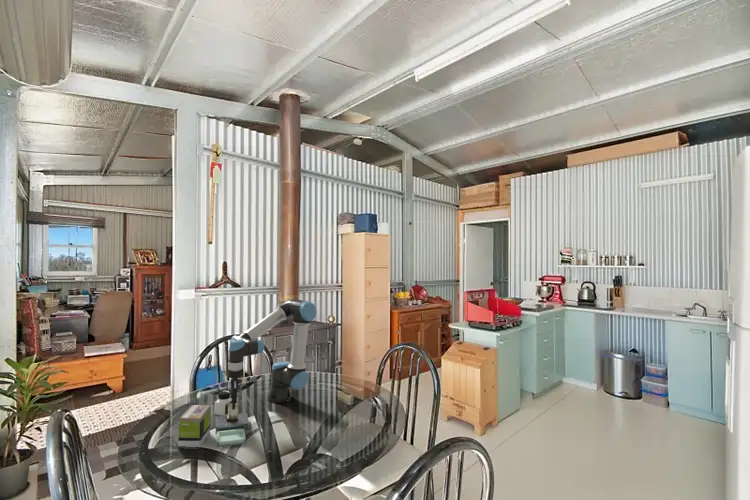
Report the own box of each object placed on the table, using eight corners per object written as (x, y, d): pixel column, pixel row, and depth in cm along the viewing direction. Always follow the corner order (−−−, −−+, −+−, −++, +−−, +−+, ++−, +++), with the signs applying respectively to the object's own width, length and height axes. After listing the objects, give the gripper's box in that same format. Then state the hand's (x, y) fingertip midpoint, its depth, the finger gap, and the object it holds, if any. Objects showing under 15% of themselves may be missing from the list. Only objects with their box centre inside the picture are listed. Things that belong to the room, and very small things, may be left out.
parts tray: (243, 433, 195) (244, 428, 195) (245, 443, 185) (245, 438, 185) (216, 436, 190) (216, 431, 190) (216, 447, 180) (217, 442, 180)
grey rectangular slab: (246, 419, 210) (247, 412, 210) (248, 430, 198) (248, 423, 198) (215, 423, 204) (216, 415, 204) (215, 434, 192) (216, 426, 192)
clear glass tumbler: (237, 419, 205) (238, 401, 205) (237, 423, 200) (239, 405, 200) (226, 420, 203) (228, 401, 203) (226, 425, 198) (228, 406, 198)
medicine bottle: (224, 416, 213) (226, 395, 213) (213, 414, 214) (215, 393, 214) (232, 411, 220) (233, 390, 220) (221, 409, 221) (222, 388, 221)
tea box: (190, 432, 192) (192, 404, 192) (210, 433, 193) (212, 404, 193) (177, 448, 177) (179, 417, 177) (199, 449, 178) (201, 417, 178)
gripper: (228, 364, 208) (225, 405, 208) (228, 375, 191) (225, 420, 191) (242, 363, 211) (239, 404, 211) (243, 374, 194) (240, 419, 194)
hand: (233, 412), depth 201 cm, fingers closed on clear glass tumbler, 5 cm apart
